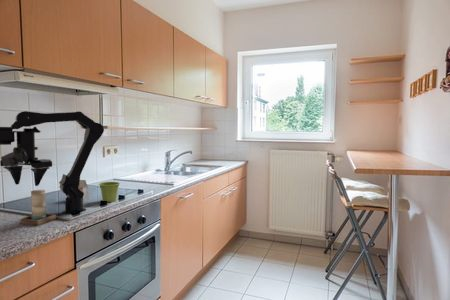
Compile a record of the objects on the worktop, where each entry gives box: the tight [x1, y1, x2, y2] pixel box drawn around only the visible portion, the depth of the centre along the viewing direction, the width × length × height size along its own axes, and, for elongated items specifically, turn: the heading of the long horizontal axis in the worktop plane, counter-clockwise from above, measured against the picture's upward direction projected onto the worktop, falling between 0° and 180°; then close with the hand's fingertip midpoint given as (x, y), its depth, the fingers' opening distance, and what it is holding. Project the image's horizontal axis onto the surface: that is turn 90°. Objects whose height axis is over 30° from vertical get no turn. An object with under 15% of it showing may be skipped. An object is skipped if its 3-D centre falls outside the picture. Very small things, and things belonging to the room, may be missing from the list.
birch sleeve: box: [30, 189, 47, 220], centre depth 110 cm, size 4×4×11 cm
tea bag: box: [78, 179, 90, 202], centre depth 144 cm, size 4×7×10 cm, turn 74°
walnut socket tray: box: [19, 213, 57, 227], centre depth 110 cm, size 8×8×2 cm
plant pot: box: [98, 181, 120, 203], centre depth 142 cm, size 9×9×9 cm
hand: (27, 185), depth 113 cm, fingers open, 9 cm apart
